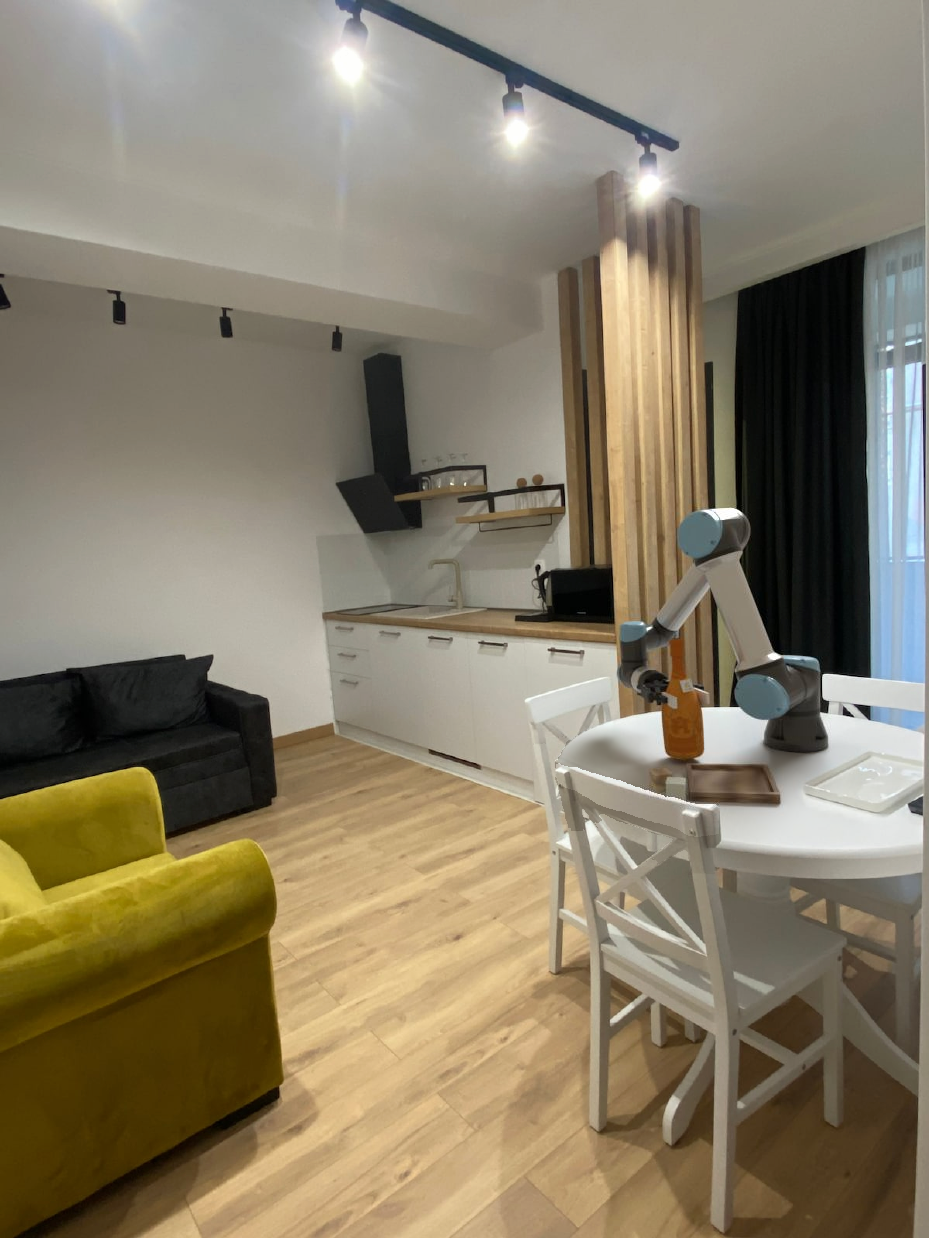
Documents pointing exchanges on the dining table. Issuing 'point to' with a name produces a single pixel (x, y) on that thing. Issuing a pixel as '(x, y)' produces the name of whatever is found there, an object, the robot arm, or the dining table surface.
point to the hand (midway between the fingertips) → (691, 700)
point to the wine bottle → (682, 711)
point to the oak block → (659, 779)
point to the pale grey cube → (676, 787)
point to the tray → (732, 783)
